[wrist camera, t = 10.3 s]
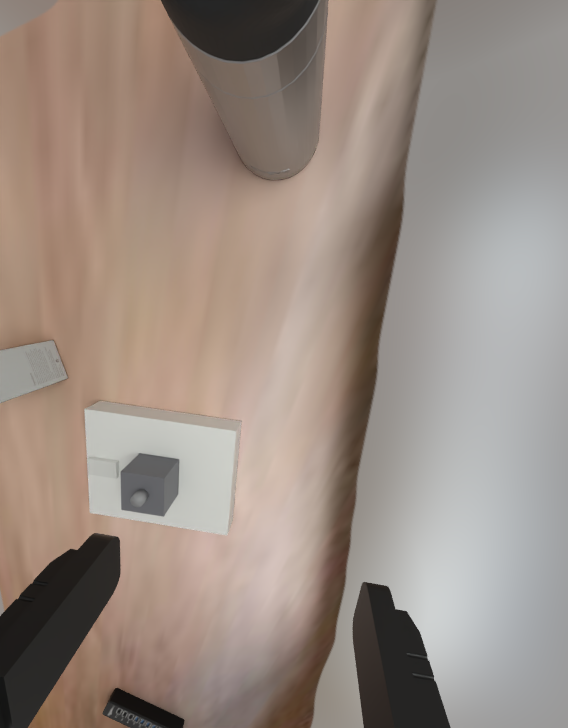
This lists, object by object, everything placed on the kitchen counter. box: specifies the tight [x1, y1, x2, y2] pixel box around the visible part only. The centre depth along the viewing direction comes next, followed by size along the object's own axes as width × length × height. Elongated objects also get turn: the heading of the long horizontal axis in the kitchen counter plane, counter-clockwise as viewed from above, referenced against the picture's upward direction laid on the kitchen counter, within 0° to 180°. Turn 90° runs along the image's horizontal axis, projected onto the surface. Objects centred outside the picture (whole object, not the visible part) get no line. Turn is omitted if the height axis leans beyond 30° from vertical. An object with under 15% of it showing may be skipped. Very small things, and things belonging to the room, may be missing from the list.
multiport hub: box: [103, 688, 185, 728], centre depth 55 cm, size 4×14×2 cm, turn 62°
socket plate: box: [85, 401, 241, 535], centre depth 41 cm, size 16×20×4 cm
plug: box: [120, 453, 179, 517], centre depth 38 cm, size 5×5×8 cm
